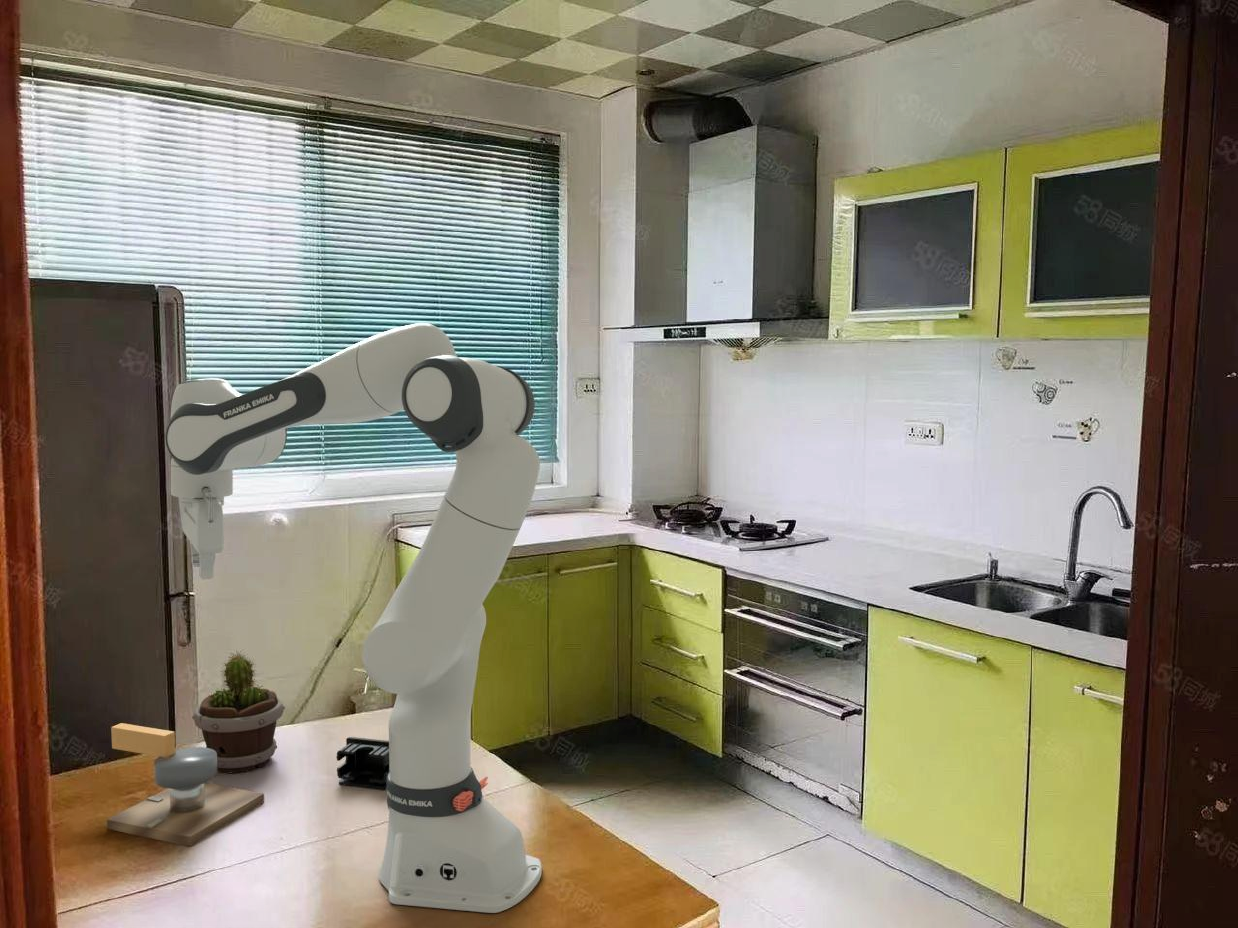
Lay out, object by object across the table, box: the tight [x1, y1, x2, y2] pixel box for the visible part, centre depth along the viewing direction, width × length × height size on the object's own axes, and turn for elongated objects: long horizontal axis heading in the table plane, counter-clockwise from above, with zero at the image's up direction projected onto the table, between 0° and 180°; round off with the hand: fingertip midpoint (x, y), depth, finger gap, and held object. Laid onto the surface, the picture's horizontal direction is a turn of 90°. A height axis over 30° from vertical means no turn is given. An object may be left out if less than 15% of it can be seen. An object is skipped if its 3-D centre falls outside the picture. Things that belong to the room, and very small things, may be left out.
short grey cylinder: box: [169, 783, 205, 813], centre depth 156 cm, size 5×5×4 cm
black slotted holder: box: [336, 736, 390, 791], centre depth 170 cm, size 10×7×7 cm
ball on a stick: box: [110, 722, 218, 789], centre depth 158 cm, size 18×9×6 cm, turn 70°
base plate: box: [106, 782, 265, 847], centre depth 157 cm, size 16×16×2 cm
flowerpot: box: [191, 649, 286, 774], centre depth 177 cm, size 14×15×20 cm
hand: (202, 571), depth 155 cm, fingers open, 8 cm apart
